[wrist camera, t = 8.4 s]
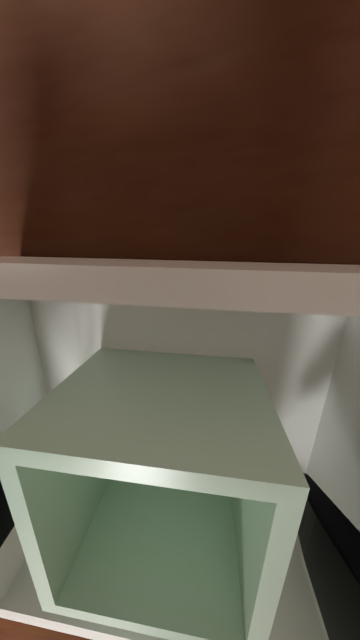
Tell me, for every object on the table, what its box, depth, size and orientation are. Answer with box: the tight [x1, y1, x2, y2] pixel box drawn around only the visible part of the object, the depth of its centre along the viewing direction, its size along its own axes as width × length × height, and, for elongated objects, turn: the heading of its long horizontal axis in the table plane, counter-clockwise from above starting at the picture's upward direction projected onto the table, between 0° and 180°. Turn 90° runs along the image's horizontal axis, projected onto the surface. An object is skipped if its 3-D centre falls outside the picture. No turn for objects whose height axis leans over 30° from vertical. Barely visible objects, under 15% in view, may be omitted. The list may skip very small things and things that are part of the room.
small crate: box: [0, 348, 310, 640], centre depth 8 cm, size 6×6×5 cm
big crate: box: [0, 256, 360, 640], centre depth 8 cm, size 14×14×5 cm
